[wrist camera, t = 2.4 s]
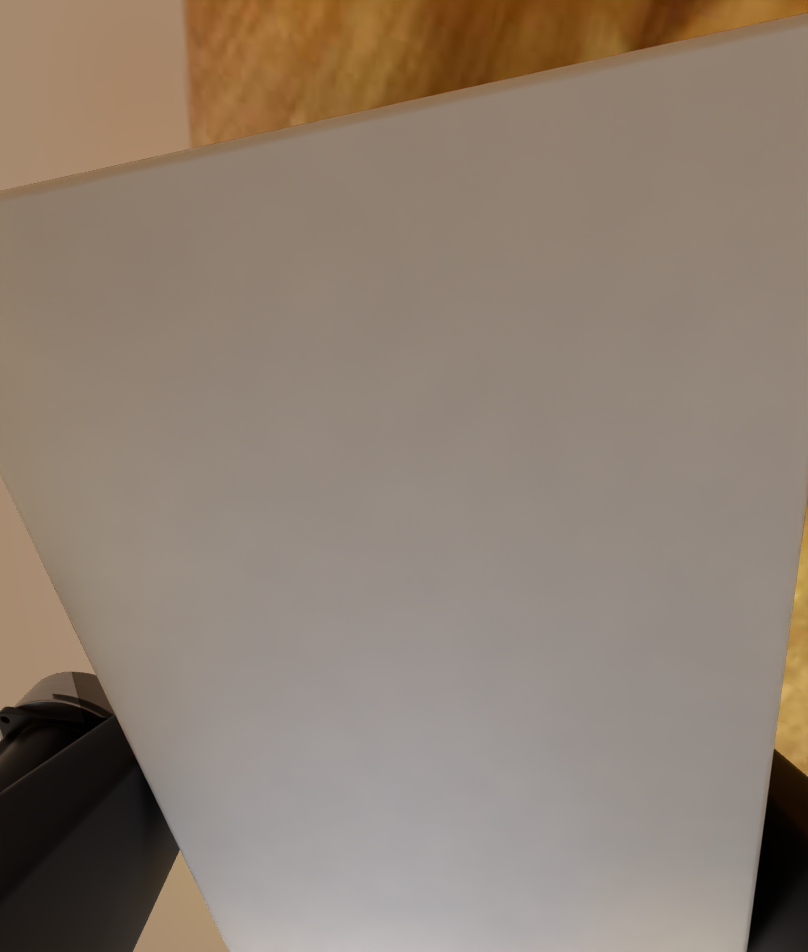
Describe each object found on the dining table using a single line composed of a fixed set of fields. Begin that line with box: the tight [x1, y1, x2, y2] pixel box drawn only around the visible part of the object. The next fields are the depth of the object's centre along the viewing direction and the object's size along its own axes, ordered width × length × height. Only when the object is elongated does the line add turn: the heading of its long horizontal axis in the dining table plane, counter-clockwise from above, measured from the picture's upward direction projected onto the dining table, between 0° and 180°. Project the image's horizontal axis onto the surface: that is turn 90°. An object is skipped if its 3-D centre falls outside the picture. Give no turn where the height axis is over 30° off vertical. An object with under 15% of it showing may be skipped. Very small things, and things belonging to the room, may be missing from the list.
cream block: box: [0, 13, 808, 952], centre depth 6 cm, size 6×10×2 cm, turn 9°
